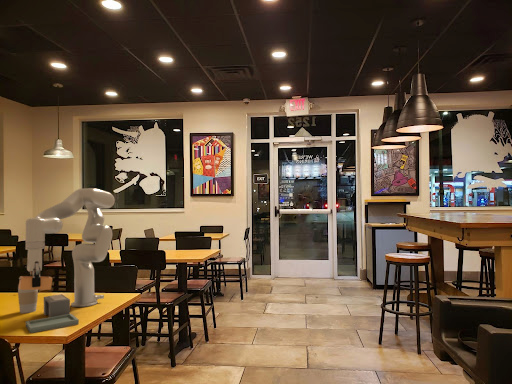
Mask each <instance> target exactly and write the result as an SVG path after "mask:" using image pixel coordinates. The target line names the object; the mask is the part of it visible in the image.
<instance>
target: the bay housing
mask: <svg viewBox="0 0 512 384" xmlns="http://www.w3.org/2000/svg"><path fill="white" fill-rule="evenodd" d="M67 314H71V300H70V298H68V297H67V296H65V295H64V294H56V295H55V294H54V295H48V296H47V295H46V296H43V315H44V316H48V318H49V317H55V316H61V315H67Z"/></svg>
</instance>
